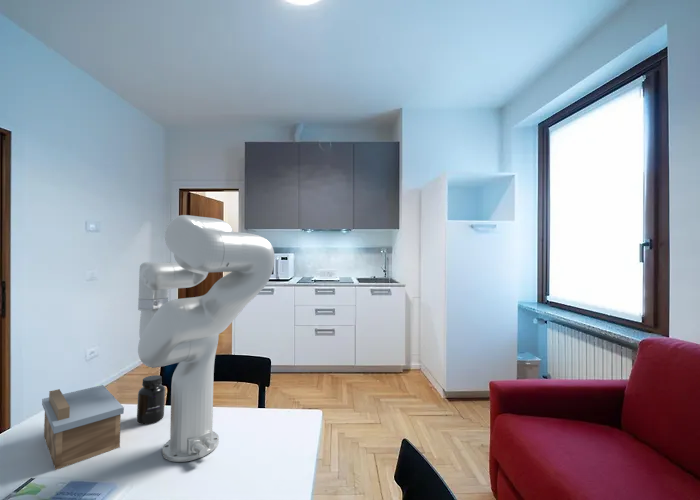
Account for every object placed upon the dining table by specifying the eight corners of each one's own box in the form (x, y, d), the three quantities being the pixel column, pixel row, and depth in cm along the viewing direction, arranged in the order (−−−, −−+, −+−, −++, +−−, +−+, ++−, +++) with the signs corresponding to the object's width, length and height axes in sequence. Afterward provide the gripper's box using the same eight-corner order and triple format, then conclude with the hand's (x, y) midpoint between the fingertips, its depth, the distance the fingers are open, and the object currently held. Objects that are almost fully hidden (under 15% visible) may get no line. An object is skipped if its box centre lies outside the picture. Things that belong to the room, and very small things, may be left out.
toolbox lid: (123, 413, 82) (124, 397, 82) (53, 433, 72) (54, 415, 73) (102, 390, 96) (103, 376, 96) (42, 404, 86) (42, 389, 87)
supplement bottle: (151, 426, 92) (152, 383, 92) (130, 423, 93) (132, 381, 94) (169, 415, 99) (170, 374, 99) (150, 412, 100) (151, 372, 100)
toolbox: (119, 447, 82) (120, 414, 82) (55, 470, 73) (56, 433, 73) (100, 420, 95) (101, 392, 95) (43, 436, 86) (44, 405, 86)
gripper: (178, 306, 94) (176, 366, 94) (157, 299, 105) (155, 353, 105) (149, 309, 88) (146, 373, 88) (129, 301, 100) (127, 358, 100)
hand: (151, 362), depth 97 cm, fingers open, 9 cm apart
